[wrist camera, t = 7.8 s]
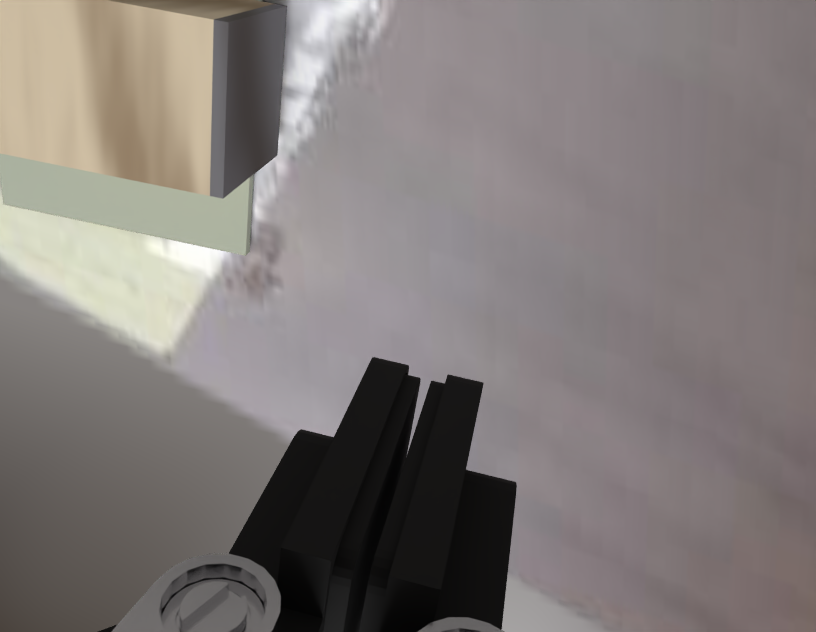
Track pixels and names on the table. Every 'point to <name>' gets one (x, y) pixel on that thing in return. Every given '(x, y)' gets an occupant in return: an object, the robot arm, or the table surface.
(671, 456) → the table surface
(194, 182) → the maple block
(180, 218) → the rubber mat
